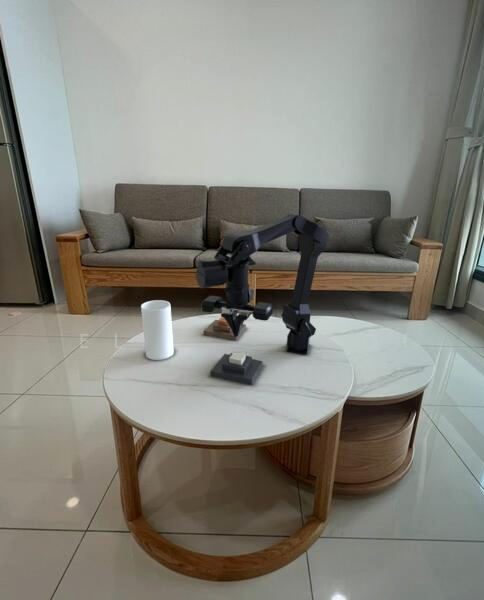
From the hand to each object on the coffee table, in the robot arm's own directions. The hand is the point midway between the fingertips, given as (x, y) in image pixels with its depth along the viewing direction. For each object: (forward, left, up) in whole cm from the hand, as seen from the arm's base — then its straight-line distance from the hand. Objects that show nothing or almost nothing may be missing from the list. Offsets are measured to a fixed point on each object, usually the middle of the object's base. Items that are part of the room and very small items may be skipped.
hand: (236, 335), depth 89 cm
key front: (-1, +2, -7) cm, 7 cm away
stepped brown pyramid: (+12, -20, -10) cm, 26 cm away
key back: (+12, -21, -7) cm, 25 cm away
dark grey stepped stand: (-1, +2, -10) cm, 10 cm away
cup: (+25, +1, -10) cm, 27 cm away
